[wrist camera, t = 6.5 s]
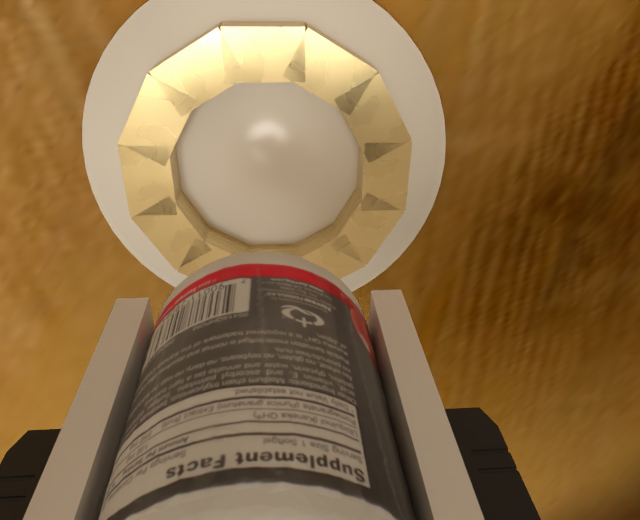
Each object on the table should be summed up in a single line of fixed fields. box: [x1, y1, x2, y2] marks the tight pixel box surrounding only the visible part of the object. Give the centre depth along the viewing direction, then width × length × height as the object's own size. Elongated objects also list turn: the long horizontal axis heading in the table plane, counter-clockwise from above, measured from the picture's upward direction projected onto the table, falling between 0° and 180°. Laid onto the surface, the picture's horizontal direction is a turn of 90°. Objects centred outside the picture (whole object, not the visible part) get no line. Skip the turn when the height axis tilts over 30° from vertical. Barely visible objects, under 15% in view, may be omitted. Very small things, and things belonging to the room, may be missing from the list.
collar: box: [117, 21, 412, 279], centre depth 24 cm, size 12×12×2 cm
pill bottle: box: [96, 252, 417, 520], centre depth 10 cm, size 5×5×10 cm
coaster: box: [82, 0, 446, 292], centre depth 25 cm, size 16×16×1 cm
